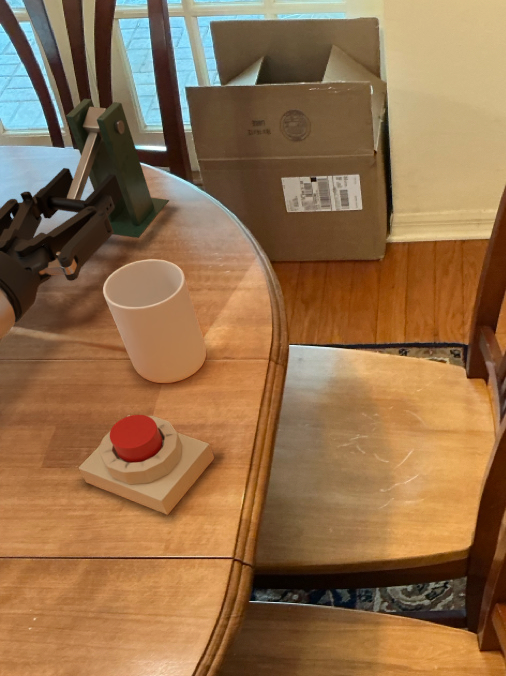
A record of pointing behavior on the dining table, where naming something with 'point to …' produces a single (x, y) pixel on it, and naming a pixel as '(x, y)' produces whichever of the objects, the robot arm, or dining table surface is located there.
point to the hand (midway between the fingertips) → (93, 182)
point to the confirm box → (150, 469)
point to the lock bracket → (118, 168)
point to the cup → (156, 320)
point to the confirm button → (136, 438)
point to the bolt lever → (81, 166)
